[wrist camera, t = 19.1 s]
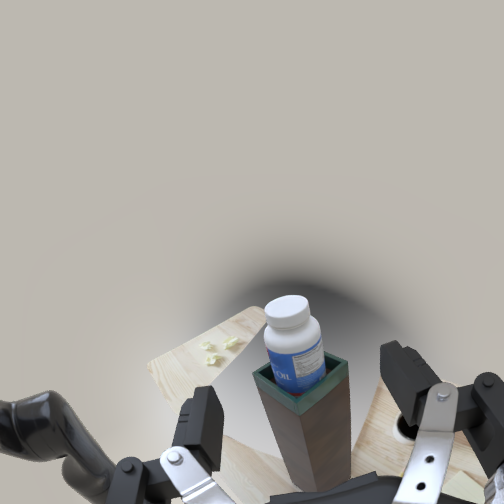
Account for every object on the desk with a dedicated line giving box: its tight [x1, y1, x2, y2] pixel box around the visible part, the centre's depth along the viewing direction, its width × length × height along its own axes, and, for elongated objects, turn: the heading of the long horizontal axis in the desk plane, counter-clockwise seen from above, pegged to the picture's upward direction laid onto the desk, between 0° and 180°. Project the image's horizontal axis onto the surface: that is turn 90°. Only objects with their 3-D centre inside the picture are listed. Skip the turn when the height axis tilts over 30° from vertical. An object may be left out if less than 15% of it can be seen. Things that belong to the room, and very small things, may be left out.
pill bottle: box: [264, 295, 326, 398], centre depth 26 cm, size 6×5×10 cm
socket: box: [252, 351, 349, 416], centre depth 27 cm, size 7×7×2 cm
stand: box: [257, 368, 351, 492], centre depth 31 cm, size 7×7×27 cm
